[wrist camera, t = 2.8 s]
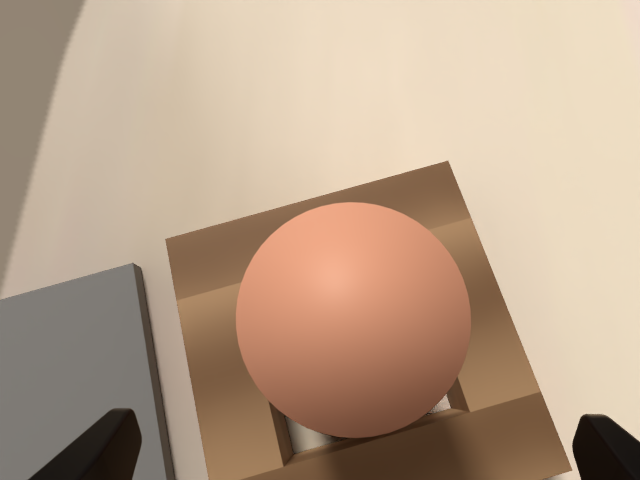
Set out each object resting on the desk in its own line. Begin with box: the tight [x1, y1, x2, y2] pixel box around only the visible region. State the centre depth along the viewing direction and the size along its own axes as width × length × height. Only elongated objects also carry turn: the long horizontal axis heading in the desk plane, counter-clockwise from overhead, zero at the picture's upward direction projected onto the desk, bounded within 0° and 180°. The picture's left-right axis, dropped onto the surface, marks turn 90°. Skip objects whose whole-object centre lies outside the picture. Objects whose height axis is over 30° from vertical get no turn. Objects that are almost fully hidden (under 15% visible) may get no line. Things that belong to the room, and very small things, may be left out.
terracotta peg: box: [236, 202, 471, 438], centre depth 14 cm, size 4×4×11 cm
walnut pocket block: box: [165, 161, 572, 480], centre depth 18 cm, size 12×12×3 cm
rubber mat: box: [0, 263, 175, 480], centre depth 19 cm, size 10×10×1 cm
